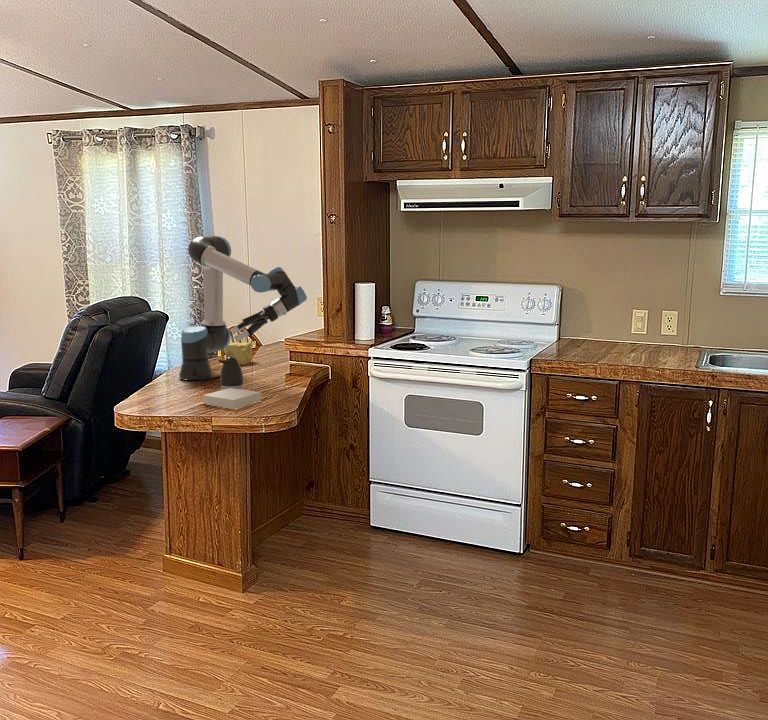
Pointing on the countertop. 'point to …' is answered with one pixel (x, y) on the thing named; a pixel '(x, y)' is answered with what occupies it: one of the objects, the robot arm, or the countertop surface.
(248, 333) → the robot arm
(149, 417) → the countertop surface
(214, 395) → the riser
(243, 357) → the cheese
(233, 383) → the dark brown rounded piece
